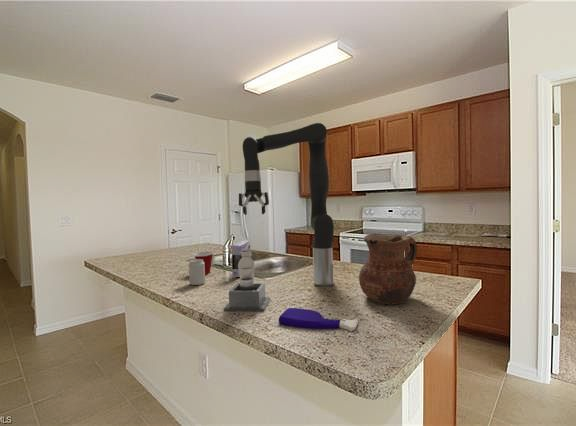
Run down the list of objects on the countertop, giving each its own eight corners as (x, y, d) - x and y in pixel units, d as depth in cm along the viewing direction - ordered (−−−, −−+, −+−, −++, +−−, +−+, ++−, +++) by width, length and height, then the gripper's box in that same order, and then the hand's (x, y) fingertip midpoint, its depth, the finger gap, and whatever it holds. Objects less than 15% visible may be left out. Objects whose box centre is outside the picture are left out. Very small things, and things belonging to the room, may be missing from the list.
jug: (386, 312, 105) (385, 241, 104) (347, 296, 124) (346, 235, 123) (429, 301, 116) (428, 236, 114) (387, 287, 134) (386, 231, 133)
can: (208, 282, 152) (207, 258, 151) (198, 286, 145) (197, 261, 144) (196, 281, 155) (195, 258, 154) (186, 285, 148) (185, 260, 147)
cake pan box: (239, 278, 158) (238, 245, 157) (230, 278, 159) (229, 245, 158) (251, 270, 176) (250, 240, 176) (243, 270, 177) (242, 240, 177)
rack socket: (270, 299, 123) (269, 282, 122) (263, 311, 110) (263, 292, 109) (234, 299, 124) (233, 282, 124) (224, 310, 112) (223, 292, 111)
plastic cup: (190, 274, 169) (189, 253, 169) (204, 270, 179) (203, 250, 178) (204, 276, 164) (203, 254, 163) (218, 272, 173) (217, 251, 172)
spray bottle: (276, 317, 97) (353, 328, 88) (288, 306, 107) (359, 314, 99) (276, 326, 97) (354, 337, 89) (288, 314, 108) (359, 323, 99)
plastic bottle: (258, 300, 119) (257, 249, 118) (251, 306, 113) (249, 252, 112) (244, 298, 121) (242, 249, 121) (236, 304, 115) (234, 252, 114)
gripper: (236, 180, 141) (237, 215, 142) (266, 179, 140) (267, 214, 140) (240, 181, 149) (241, 214, 149) (268, 180, 147) (270, 213, 148)
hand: (254, 214), depth 145 cm, fingers open, 8 cm apart
